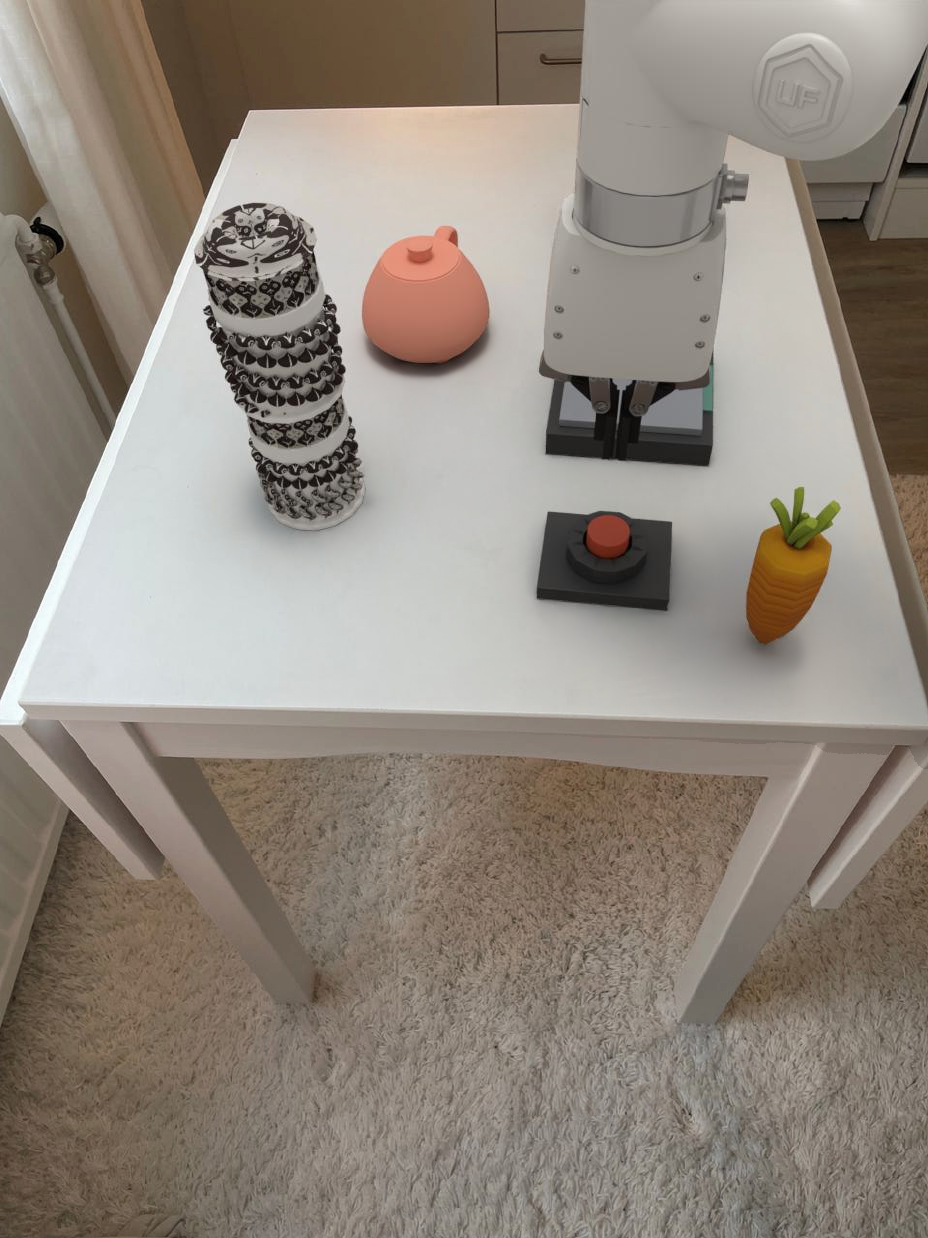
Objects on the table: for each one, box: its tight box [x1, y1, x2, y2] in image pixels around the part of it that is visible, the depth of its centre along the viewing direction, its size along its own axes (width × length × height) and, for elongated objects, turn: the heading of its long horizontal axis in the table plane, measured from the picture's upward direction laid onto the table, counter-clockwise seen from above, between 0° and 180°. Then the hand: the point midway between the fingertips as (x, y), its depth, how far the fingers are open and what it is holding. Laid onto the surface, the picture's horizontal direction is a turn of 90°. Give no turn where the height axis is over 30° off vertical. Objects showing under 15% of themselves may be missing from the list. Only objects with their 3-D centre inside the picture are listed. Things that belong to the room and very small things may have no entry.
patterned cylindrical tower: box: [193, 202, 366, 531], centre depth 72 cm, size 9×9×25 cm
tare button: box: [586, 515, 630, 559], centre depth 73 cm, size 3×3×2 cm
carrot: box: [745, 486, 842, 645], centre depth 65 cm, size 5×5×15 cm
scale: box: [545, 347, 715, 467], centre depth 85 cm, size 14×14×3 cm
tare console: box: [536, 510, 673, 612], centre depth 74 cm, size 10×8×3 cm
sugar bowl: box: [361, 225, 491, 364], centre depth 90 cm, size 12×14×10 cm
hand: (614, 445), depth 65 cm, fingers closed
